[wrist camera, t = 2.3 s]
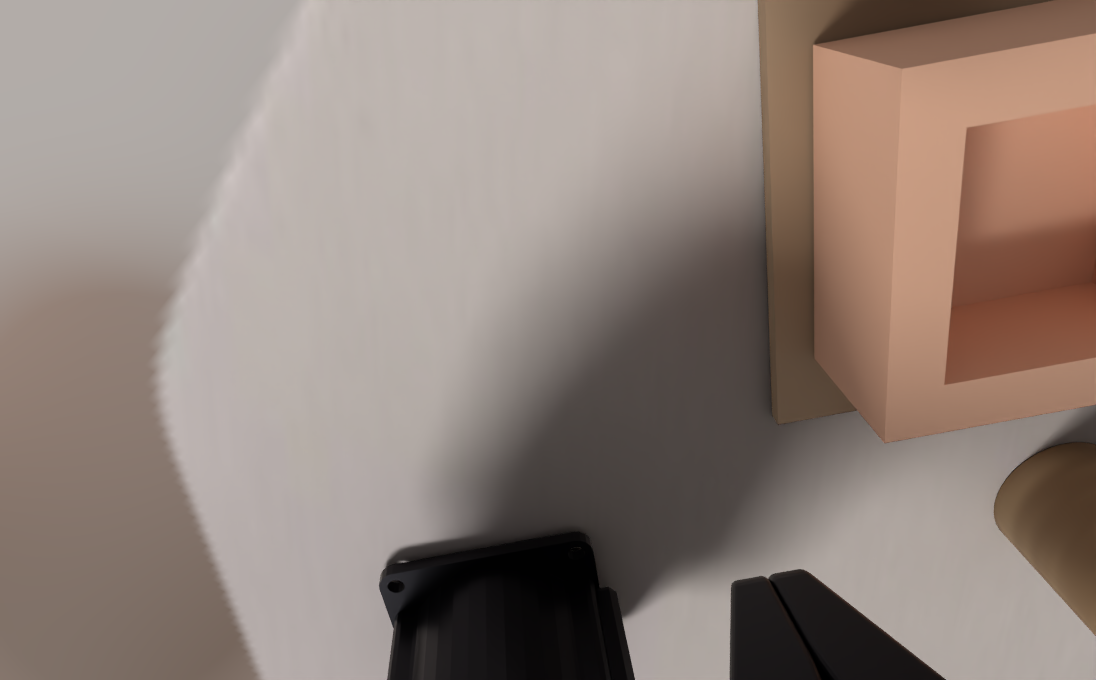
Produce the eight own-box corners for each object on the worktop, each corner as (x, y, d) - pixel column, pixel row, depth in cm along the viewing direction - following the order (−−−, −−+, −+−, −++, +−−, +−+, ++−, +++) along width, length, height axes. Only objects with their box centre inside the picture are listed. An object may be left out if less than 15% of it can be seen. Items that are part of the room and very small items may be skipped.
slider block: (814, 358, 21) (884, 443, 17) (813, 44, 17) (901, 69, 13) (1108, 304, 21) (1240, 378, 17) (1170, -22, 17) (1355, -15, 13)
